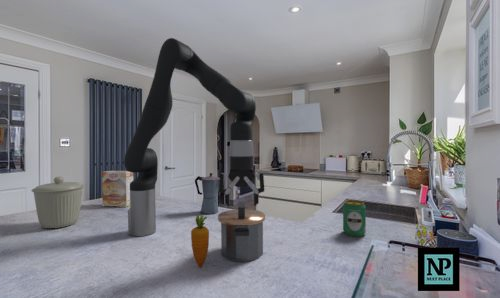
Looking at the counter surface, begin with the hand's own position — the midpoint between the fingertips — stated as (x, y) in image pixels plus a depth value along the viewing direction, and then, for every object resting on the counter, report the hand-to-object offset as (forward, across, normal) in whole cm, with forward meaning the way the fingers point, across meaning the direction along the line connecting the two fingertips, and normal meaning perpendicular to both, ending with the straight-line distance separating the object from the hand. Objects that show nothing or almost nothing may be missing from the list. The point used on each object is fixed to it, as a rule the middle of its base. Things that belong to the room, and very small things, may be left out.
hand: (241, 205), depth 81 cm
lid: (+5, 0, 0) cm, 5 cm away
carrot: (+15, -12, -9) cm, 21 cm away
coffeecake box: (+15, -70, +65) cm, 97 cm away
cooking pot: (+15, 0, 0) cm, 15 cm away
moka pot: (+15, -17, +48) cm, 53 cm away
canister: (+15, -79, +31) cm, 86 cm away
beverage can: (+15, +43, +15) cm, 48 cm away
